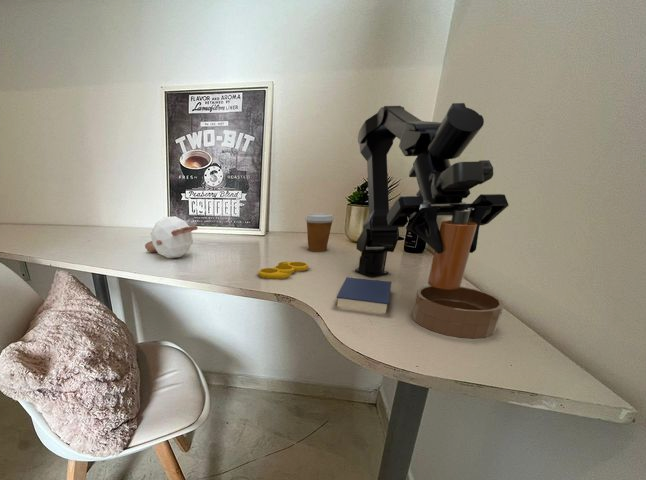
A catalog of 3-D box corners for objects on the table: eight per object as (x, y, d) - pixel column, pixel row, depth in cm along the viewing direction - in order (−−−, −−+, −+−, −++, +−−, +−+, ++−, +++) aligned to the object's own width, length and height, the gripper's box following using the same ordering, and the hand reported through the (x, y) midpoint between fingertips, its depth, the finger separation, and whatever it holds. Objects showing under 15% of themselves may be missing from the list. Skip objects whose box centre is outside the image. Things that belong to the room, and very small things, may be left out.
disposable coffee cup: (325, 254, 113) (328, 217, 108) (299, 251, 117) (301, 215, 113) (334, 248, 120) (337, 214, 115) (309, 245, 125) (311, 212, 120)
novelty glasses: (249, 273, 94) (272, 282, 86) (249, 268, 93) (272, 276, 86) (293, 264, 102) (317, 271, 95) (293, 259, 102) (317, 266, 94)
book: (345, 288, 81) (346, 277, 80) (389, 293, 77) (391, 281, 76) (335, 309, 69) (336, 296, 68) (386, 316, 66) (389, 303, 65)
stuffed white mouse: (173, 258, 126) (158, 222, 122) (215, 244, 108) (199, 202, 104) (142, 271, 117) (125, 232, 113) (182, 258, 99) (164, 212, 95)
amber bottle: (441, 278, 63) (458, 207, 58) (467, 287, 59) (488, 211, 54) (421, 282, 62) (436, 209, 56) (445, 291, 57) (465, 213, 52)
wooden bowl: (442, 306, 70) (448, 281, 68) (510, 331, 59) (520, 302, 57) (396, 318, 65) (401, 291, 63) (462, 348, 54) (471, 317, 52)
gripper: (405, 143, 54) (427, 224, 49) (518, 141, 55) (552, 221, 49) (379, 191, 65) (394, 262, 59) (473, 189, 65) (497, 259, 59)
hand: (456, 251), depth 56 cm, fingers closed on amber bottle, 5 cm apart
